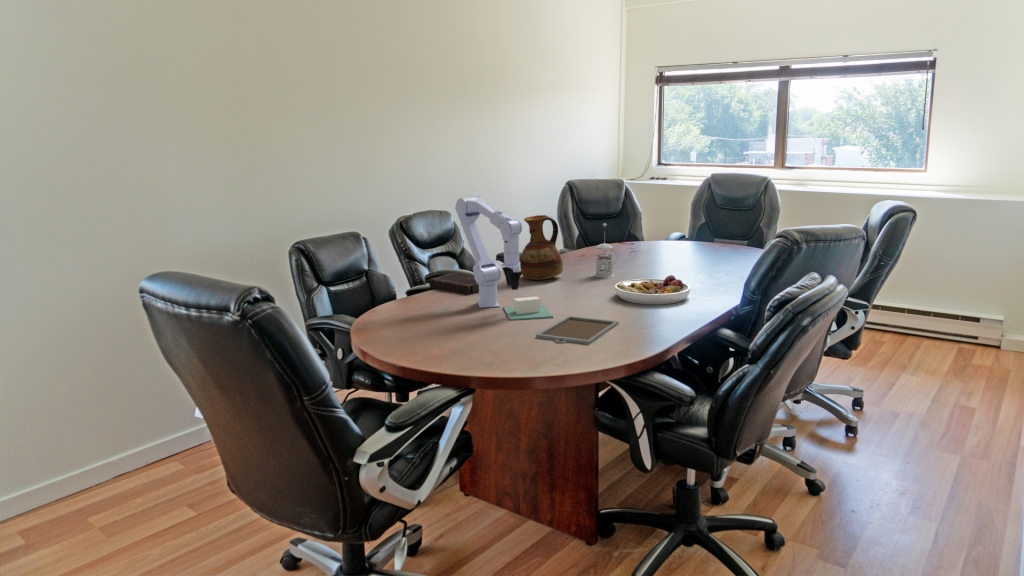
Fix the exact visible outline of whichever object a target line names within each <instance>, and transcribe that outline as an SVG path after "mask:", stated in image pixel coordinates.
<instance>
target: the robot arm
mask: <svg viewBox="0 0 1024 576" xmlns="http://www.w3.org/2000/svg"><path fill="white" fill-rule="evenodd" d="M454 209H455V211H456V214H457V217H458V219H459V221H460V225H461V227H462V230H463V232H464V235H465V238H466V241H467V243H468V245H469V247H470V251H471V253H472V255H473V258H474V260H475V261H474V262H475V264H474V265H473V267H472V271H473V275H474V278H475V280H476V282H477V284H479V292H478V296H479V297H478V298H479V299H478V301H477V302H476V303H477V305H478V308H481V309H482V308H495V307H496V308H497V307H498V308H499V307H500V303H499V302H498V284H499V280H500V279H501V277H502V271H503V273H504V276H505V281H506V285H507V286H508V287H510V288H511V290H512V291H515V290H516V291H517V290H518V289H519V285H520V284H519V283H520V280H521V277H522V276H523V275H522V271H521V270H520V234H521V233H522V230H523V226H522V223H521V221H520V220H518V219H512V218H511V217H510V216H508V215H506V214H505V213H503V211H502V210H494V209H493V208H491V206H489V205H488V204H486V203H485V200H484V199H483V198H481V197H480V196H472V197H464V198H463V197H460V198H458V199H457V200H456V203H455V208H454ZM480 215H482V216H484V217H486V218H488V219H489V222H490V224H492V225H493V226H494V227H495V228H497V229H499V231H500V234H501V236H502V241H503V263H501V264H500V265H501V269H502V271H501V269H500V267H499V266H498V264H497V263H496V261H495V260H494V259H492V258H490V257H489V255H488V252H487V250H486V247H485V244H484V241H483V239H482V237H481V234H480V232H479V230H478V226H477V224H476V222H477V221H476V220H478V219H479V217H480Z"/></svg>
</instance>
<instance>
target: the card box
mask: <svg viewBox="0 0 1024 576" xmlns="http://www.w3.org/2000/svg"><path fill="white" fill-rule="evenodd" d="M540 305H541V298H540V297H538V296H537V295H536V296H526V297H516V298H515V297H514V298H513V307H514V312H516V313H517V314H524V313H533V312H540Z"/></svg>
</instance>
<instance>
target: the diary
mask: <svg viewBox="0 0 1024 576" xmlns="http://www.w3.org/2000/svg"><path fill="white" fill-rule="evenodd" d="M429 288H431V289H435V290H440V291H441V290H442V291H446V292H452V293H457V294H463V295H466V296H467V295H468V296H470V295H472V294H476V293H479V284H477V282H476V280H475V278H474V274H471V273H467V272H461V271H455V272H452V273H446V274H443V275H440V276H438V277H433V278H430V279H429Z"/></svg>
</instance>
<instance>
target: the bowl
mask: <svg viewBox="0 0 1024 576" xmlns="http://www.w3.org/2000/svg"><path fill="white" fill-rule="evenodd" d="M614 291H615V295H617V297H619V299H621V300H623V301H625V302H629V303H632V304H639V305H651V306H652V305H654V306H656V305H671V304H676V303H680V302H682V301H684V300H685V299H687V297H688V296H689V294H690V292H691V287H690V286H689V285H688V284H687V283H685V282H683V281H682V280H681V279H680V278H679V279H677V277H675V276H674V275H672V274H670V275H667V276H665V278H663V279H660V278H638V279H637V278H636V279H635V278H634V279H628V280H623V281H619V282H617V283H616V284H615V285H614Z"/></svg>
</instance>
